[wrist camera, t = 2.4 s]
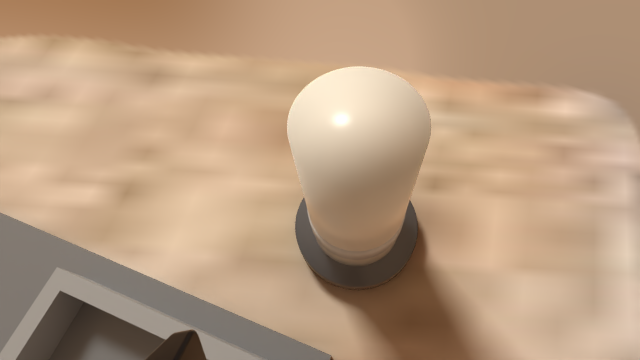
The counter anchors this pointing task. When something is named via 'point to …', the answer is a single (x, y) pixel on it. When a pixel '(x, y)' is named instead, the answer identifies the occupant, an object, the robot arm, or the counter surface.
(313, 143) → the light bulb lamp
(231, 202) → the counter surface
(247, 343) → the holder dock
